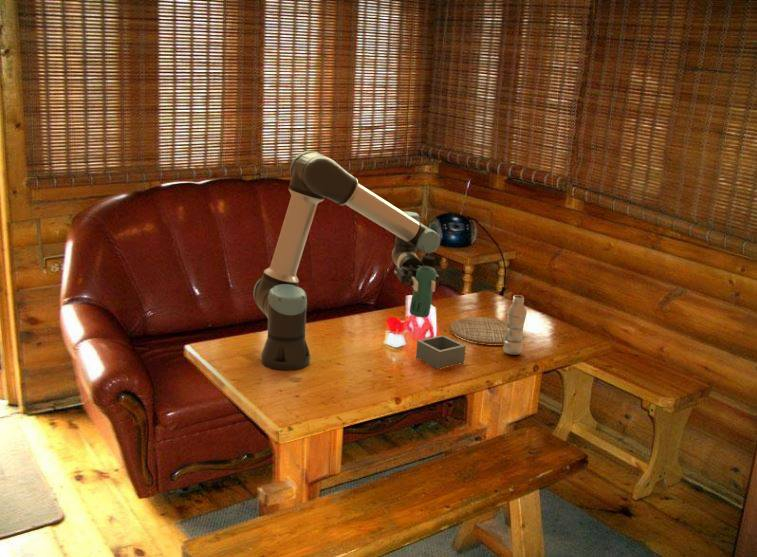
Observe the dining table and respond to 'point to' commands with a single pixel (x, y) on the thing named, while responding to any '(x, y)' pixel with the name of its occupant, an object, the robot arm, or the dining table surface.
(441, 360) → the bottle holder
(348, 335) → the dining table surface
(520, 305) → the plastic bottle
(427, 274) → the beverage bottle
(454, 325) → the trivet
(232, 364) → the dining table surface
